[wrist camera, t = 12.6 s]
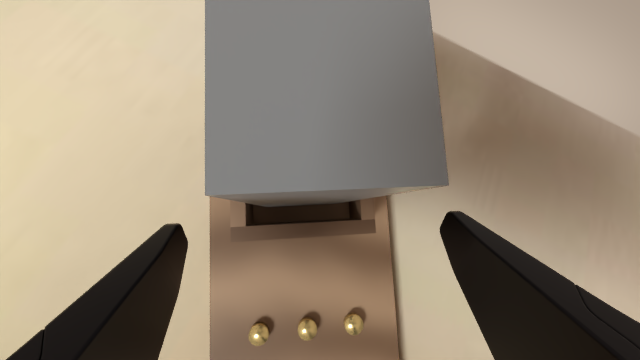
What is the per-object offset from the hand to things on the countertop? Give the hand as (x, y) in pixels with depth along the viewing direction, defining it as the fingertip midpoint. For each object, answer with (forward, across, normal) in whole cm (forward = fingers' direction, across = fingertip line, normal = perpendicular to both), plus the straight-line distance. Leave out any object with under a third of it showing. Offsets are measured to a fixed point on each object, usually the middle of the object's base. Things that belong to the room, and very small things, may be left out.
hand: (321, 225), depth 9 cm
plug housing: (+8, 0, +4) cm, 9 cm away
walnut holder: (+6, 0, +8) cm, 10 cm away
